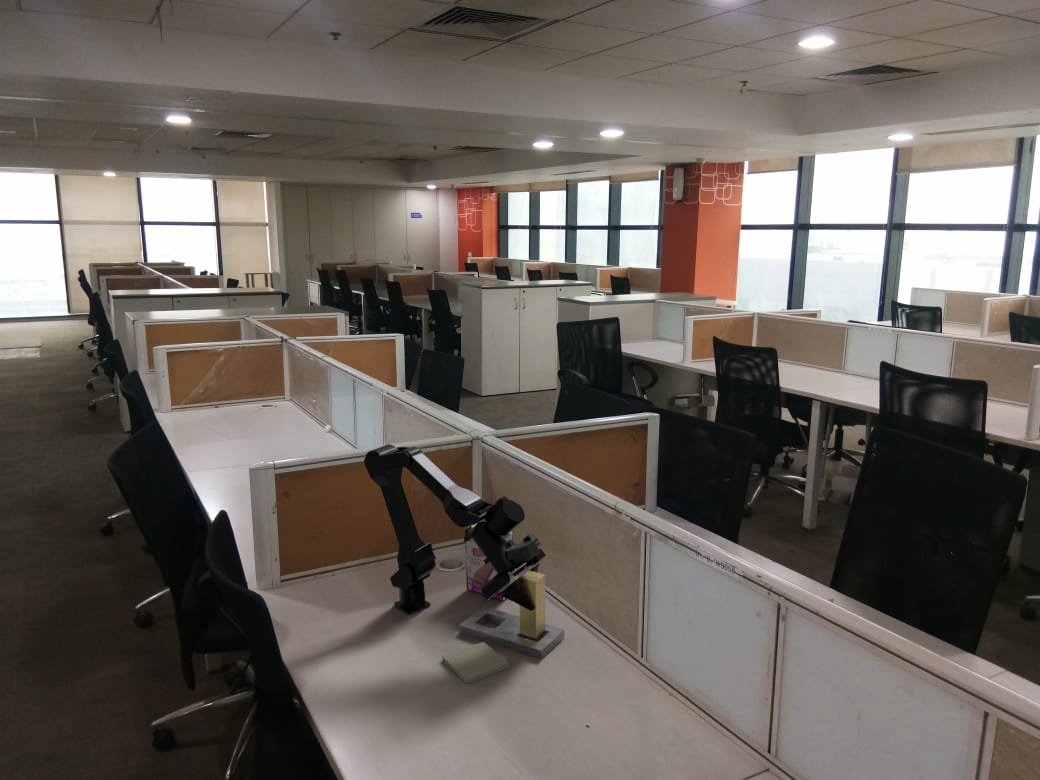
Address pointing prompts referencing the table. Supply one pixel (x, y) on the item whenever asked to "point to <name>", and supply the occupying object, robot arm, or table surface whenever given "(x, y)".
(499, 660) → the olive rubber mat
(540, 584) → the brass peg
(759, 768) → the table surface
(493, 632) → the steel rail plate
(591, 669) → the table surface
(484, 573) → the candy bar box
